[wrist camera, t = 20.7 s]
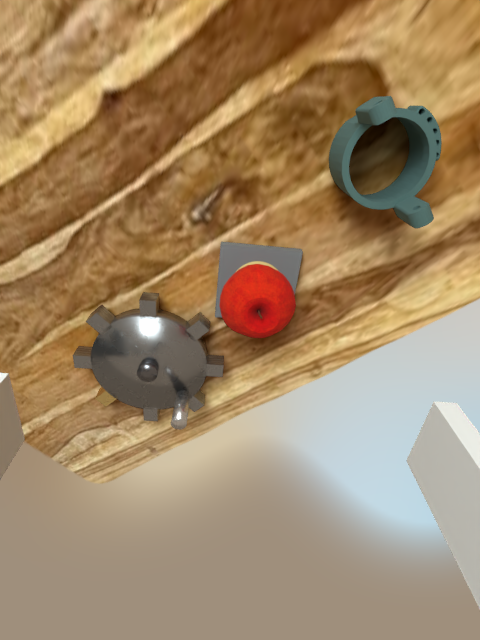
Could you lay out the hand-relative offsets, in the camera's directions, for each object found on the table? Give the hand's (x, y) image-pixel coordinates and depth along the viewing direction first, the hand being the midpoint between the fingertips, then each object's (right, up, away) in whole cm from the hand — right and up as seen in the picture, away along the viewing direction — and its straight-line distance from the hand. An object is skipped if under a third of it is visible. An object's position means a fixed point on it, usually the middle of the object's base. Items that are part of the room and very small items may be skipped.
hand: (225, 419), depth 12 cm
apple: (+2, +7, +31) cm, 32 cm away
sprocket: (-11, -1, +37) cm, 38 cm away
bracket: (+14, +20, +26) cm, 35 cm away
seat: (+2, +8, +32) cm, 33 cm away
